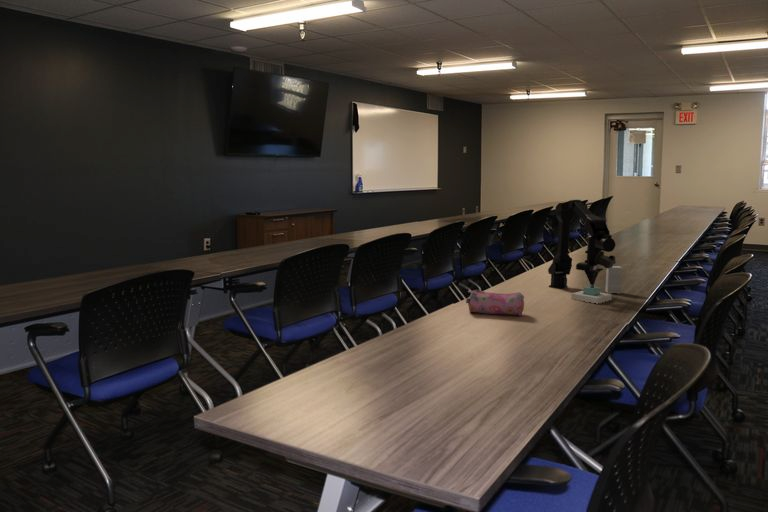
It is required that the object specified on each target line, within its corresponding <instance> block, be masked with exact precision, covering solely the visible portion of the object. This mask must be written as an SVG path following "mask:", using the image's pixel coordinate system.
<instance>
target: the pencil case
mask: <svg viewBox="0 0 768 512" xmlns="http://www.w3.org/2000/svg"><path fill="white" fill-rule="evenodd" d="M467 293H470V295H469V297H468V298H467V297H466V301H465V304H467V305H468V310H469V311H468V312H469V313H475V314H477V313H478V314H485V315H509V316H519V317H522V315H523V311H524V308H525V300H524V299H525V296H524V295H523V294H522V293H521V292H510V293H496V292H495V293H494V292H486V291H483V290H479V289H473V290H468V291H467Z"/></svg>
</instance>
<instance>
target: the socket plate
mask: <svg viewBox="0 0 768 512" xmlns="http://www.w3.org/2000/svg"><path fill="white" fill-rule="evenodd" d="M612 297H613V295H612V293H606V292H601V291H600V295H598V296H591V295H585V294H583V290H580V291H576V292H572V293H571V297H570V298H571V299H570V300H573V299H576V300H575V301H578V300H581V301H580V302H583V301H585V302H584V303H589V302H591V303H590V304H594V303H596V304H595V305H599V304H603V303H606V302H609V300H610V301H612ZM605 301H606V302H605ZM602 302H603V303H602ZM598 303H599V304H598Z"/></svg>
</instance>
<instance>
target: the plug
mask: <svg viewBox="0 0 768 512" xmlns="http://www.w3.org/2000/svg"><path fill="white" fill-rule="evenodd" d="M582 291H583V294H585V295H591V296H598V295H600V292H601V287H599V286H595V285H591V284H589V285H588V286H584V287H583V290H582Z"/></svg>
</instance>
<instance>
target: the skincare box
mask: <svg viewBox="0 0 768 512" xmlns="http://www.w3.org/2000/svg"><path fill="white" fill-rule="evenodd" d="M605 269H606V271H605V273H606V274H605V292H604V293H606V292H607V294H612V293H617V294H619V295H620V294H622V281H623V267H622V266H620V265H616V266H615V265H613V266H612V268H605Z"/></svg>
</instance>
